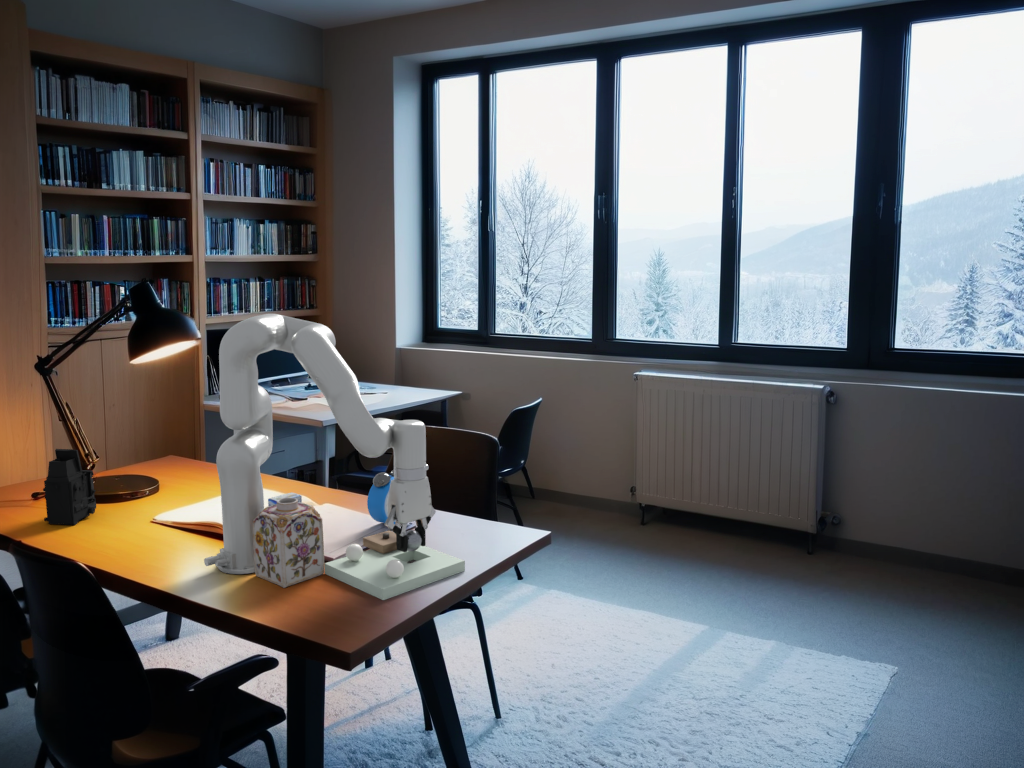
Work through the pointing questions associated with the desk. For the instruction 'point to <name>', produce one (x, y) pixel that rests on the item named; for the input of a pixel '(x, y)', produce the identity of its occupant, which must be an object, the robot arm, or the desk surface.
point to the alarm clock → (380, 497)
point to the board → (376, 582)
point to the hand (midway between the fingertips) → (411, 546)
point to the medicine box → (289, 495)
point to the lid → (381, 542)
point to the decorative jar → (288, 543)
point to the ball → (413, 540)
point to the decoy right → (394, 568)
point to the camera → (68, 489)
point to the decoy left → (354, 552)
